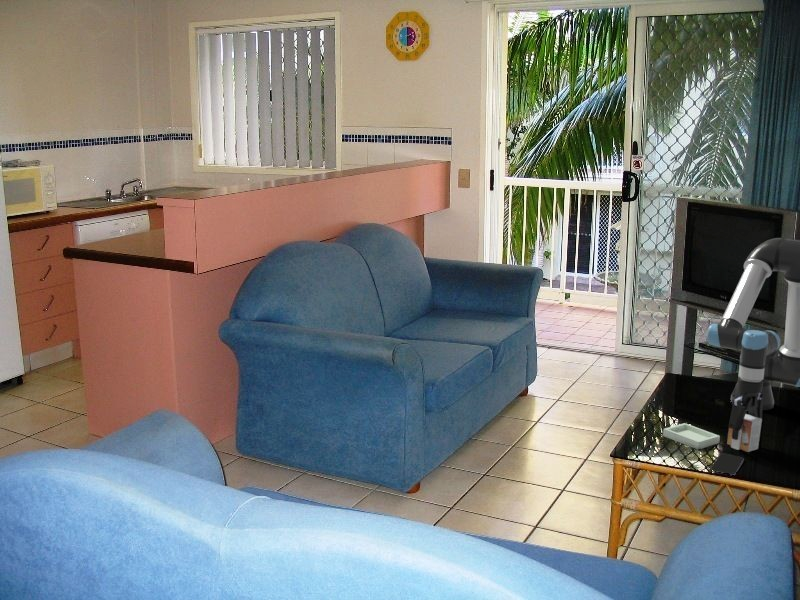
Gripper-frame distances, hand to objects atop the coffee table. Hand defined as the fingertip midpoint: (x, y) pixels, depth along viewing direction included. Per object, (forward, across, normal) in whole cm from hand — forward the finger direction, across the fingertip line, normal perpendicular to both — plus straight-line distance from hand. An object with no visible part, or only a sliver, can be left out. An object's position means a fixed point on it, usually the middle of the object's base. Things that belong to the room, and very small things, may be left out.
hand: (742, 445), depth 283 cm
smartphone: (+1, +18, +7) cm, 19 cm away
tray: (0, +10, -13) cm, 16 cm away
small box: (0, 0, 0) cm, 0 cm away
